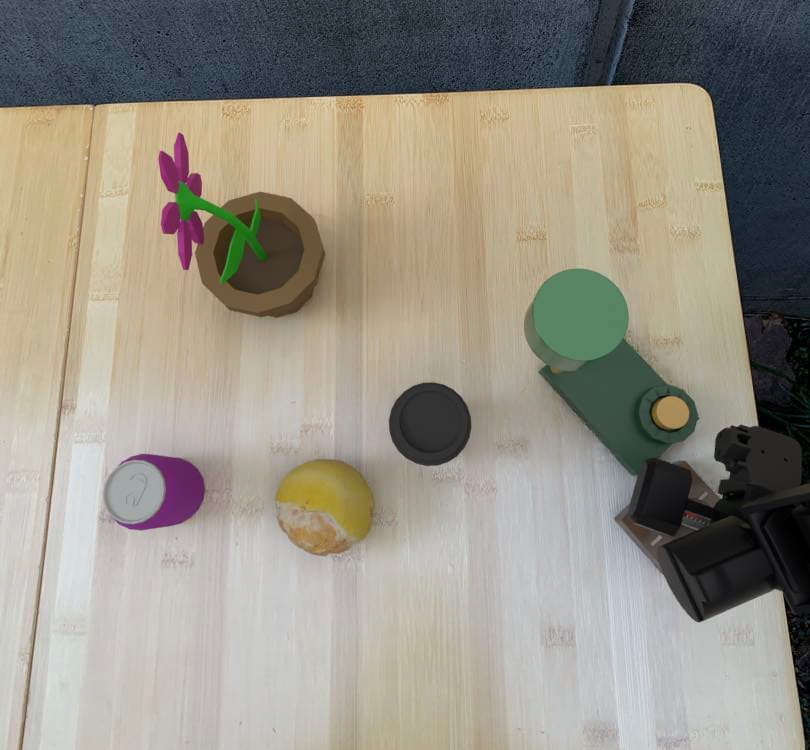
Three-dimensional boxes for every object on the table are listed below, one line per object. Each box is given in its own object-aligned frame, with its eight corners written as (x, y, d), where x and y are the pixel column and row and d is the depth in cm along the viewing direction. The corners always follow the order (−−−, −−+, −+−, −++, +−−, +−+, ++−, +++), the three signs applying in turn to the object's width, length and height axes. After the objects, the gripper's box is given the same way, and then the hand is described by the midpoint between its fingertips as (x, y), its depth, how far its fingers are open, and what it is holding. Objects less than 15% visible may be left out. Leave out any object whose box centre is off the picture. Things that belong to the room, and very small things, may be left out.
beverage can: (195, 532, 78) (156, 540, 67) (132, 516, 79) (83, 520, 67) (215, 466, 80) (181, 462, 69) (154, 450, 81) (110, 444, 69)
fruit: (287, 459, 80) (270, 455, 71) (378, 462, 80) (373, 458, 70) (280, 550, 78) (261, 558, 68) (374, 553, 77) (368, 563, 68)
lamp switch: (690, 415, 77) (696, 414, 75) (667, 436, 77) (673, 435, 75) (667, 391, 78) (672, 389, 76) (644, 412, 77) (649, 410, 76)
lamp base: (695, 420, 81) (709, 417, 77) (633, 477, 79) (644, 477, 75) (599, 319, 84) (608, 310, 80) (538, 372, 82) (544, 366, 78)
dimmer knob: (707, 520, 75) (727, 523, 70) (679, 548, 74) (697, 551, 70) (678, 489, 76) (696, 489, 71) (650, 515, 75) (666, 517, 70)
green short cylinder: (630, 332, 61) (649, 319, 57) (566, 389, 60) (579, 380, 55) (569, 268, 63) (582, 249, 58) (505, 322, 62) (512, 308, 57)
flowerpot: (222, 227, 88) (125, 97, 59) (333, 223, 88) (291, 90, 58) (218, 335, 84) (113, 254, 55) (334, 331, 84) (290, 247, 55)
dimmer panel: (727, 518, 78) (740, 519, 75) (665, 577, 76) (675, 581, 73) (673, 459, 79) (683, 458, 76) (611, 516, 78) (619, 517, 75)
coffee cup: (449, 480, 79) (456, 478, 65) (382, 454, 80) (375, 447, 66) (472, 412, 81) (484, 396, 67) (407, 388, 82) (405, 367, 68)
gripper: (916, 472, 55) (809, 476, 70) (689, 394, 57) (633, 414, 72) (891, 611, 53) (785, 584, 68) (655, 525, 54) (604, 517, 70)
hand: (701, 520), depth 69 cm, fingers open, 9 cm apart
